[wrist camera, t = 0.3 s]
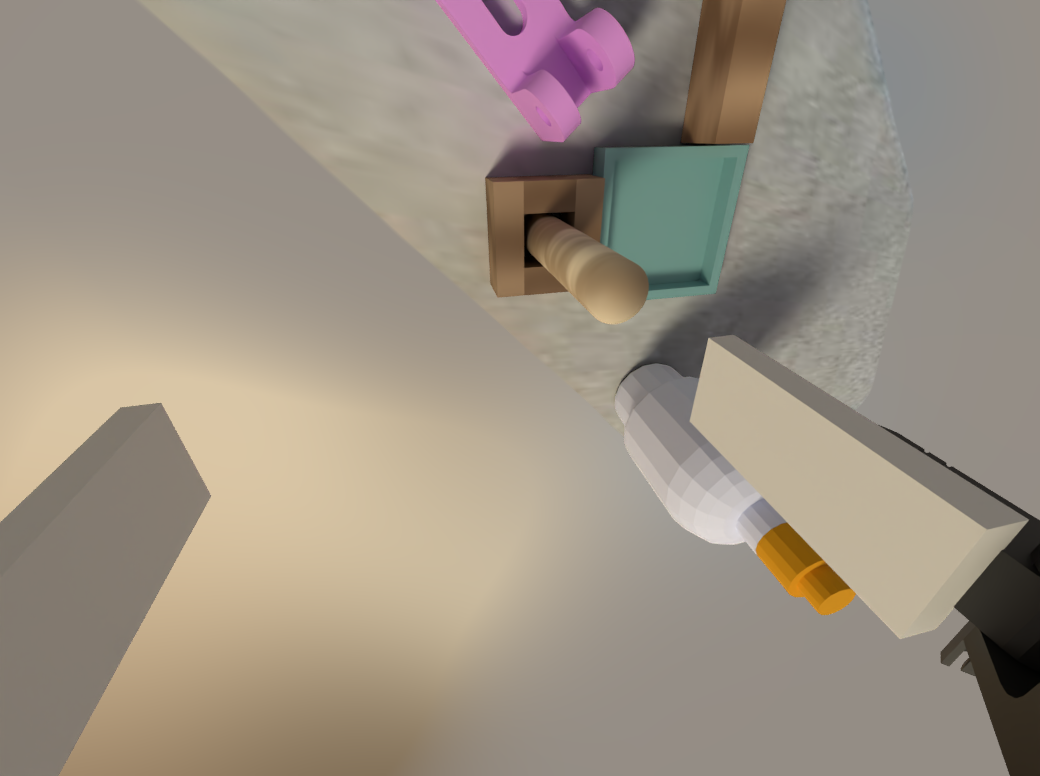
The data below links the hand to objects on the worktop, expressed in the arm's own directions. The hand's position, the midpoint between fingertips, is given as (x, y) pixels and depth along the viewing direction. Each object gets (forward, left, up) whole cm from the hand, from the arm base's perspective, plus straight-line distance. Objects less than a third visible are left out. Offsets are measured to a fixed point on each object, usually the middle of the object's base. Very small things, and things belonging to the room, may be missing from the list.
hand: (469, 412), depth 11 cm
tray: (+1, +19, -26) cm, 32 cm away
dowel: (+1, +8, -26) cm, 27 cm away
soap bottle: (+18, +20, -26) cm, 38 cm away
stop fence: (-11, +21, -26) cm, 35 cm away
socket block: (+1, +8, -26) cm, 27 cm away
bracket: (-12, +6, -26) cm, 30 cm away
